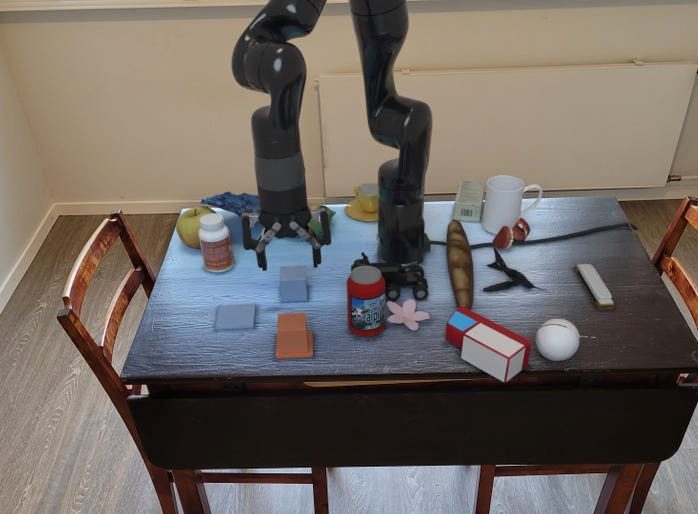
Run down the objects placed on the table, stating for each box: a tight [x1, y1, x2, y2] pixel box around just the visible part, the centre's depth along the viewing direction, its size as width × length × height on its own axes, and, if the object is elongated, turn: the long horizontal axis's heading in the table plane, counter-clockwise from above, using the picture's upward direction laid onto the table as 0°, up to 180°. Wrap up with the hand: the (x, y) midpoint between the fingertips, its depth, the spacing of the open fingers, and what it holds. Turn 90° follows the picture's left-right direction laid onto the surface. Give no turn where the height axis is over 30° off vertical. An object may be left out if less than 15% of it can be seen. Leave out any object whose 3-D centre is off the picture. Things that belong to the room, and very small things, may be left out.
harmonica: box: [574, 263, 616, 311], centre depth 136 cm, size 15×3×2 cm, turn 4°
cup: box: [344, 182, 378, 222], centre depth 162 cm, size 12×12×5 cm
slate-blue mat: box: [215, 303, 257, 331], centre depth 132 cm, size 7×7×1 cm
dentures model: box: [491, 216, 531, 250], centre depth 149 cm, size 6×4×8 cm
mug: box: [481, 174, 543, 235], centre depth 153 cm, size 12×8×10 cm, turn 91°
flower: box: [385, 298, 431, 331], centre depth 130 cm, size 10×10×2 cm
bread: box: [445, 219, 475, 311], centre depth 142 cm, size 38×5×5 cm, turn 177°
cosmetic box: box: [452, 179, 487, 223], centre depth 162 cm, size 6×4×12 cm
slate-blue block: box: [279, 265, 308, 303], centre depth 136 cm, size 5×5×5 cm
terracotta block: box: [276, 312, 309, 353], centre depth 123 cm, size 5×5×5 cm
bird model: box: [482, 246, 546, 292], centre depth 139 cm, size 5×12×10 cm
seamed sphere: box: [534, 318, 597, 362], centre depth 118 cm, size 10×7×7 cm
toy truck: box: [444, 306, 533, 383], centre depth 120 cm, size 6×15×7 cm
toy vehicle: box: [350, 251, 429, 301], centre depth 135 cm, size 8×15×9 cm, turn 92°
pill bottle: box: [198, 212, 235, 274], centre depth 143 cm, size 6×6×11 cm
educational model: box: [298, 202, 337, 237], centre depth 156 cm, size 13×16×5 cm
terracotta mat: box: [275, 331, 314, 360], centre depth 125 cm, size 6×6×1 cm
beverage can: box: [346, 266, 386, 338], centre depth 125 cm, size 7×7×12 cm
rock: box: [200, 191, 260, 219], centre depth 155 cm, size 15×17×2 cm
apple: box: [175, 205, 217, 249], centre depth 151 cm, size 10×10×8 cm
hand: (290, 266), depth 117 cm, fingers open, 8 cm apart
